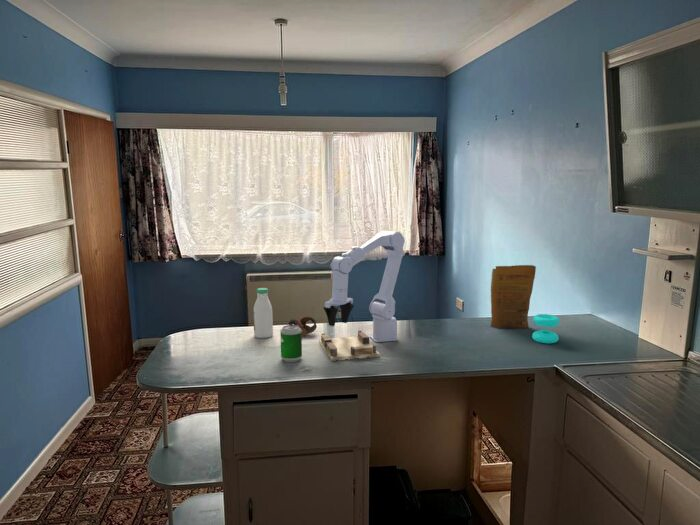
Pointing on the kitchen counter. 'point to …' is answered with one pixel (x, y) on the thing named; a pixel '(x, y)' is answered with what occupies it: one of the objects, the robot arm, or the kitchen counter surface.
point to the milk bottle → (263, 315)
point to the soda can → (291, 343)
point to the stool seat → (350, 347)
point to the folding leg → (325, 339)
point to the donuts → (545, 335)
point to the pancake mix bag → (511, 295)
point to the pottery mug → (304, 324)
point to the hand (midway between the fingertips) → (337, 324)
